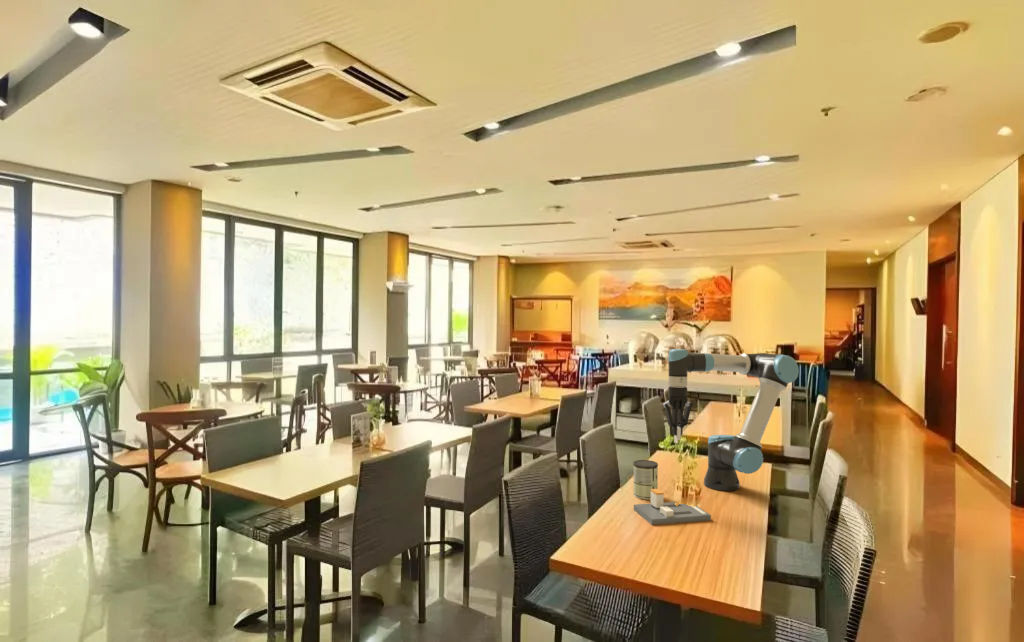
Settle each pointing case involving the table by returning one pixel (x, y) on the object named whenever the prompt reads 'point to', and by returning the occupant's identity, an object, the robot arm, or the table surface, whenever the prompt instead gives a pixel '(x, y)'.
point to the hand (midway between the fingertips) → (677, 442)
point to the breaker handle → (657, 498)
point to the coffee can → (645, 478)
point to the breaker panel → (675, 518)
